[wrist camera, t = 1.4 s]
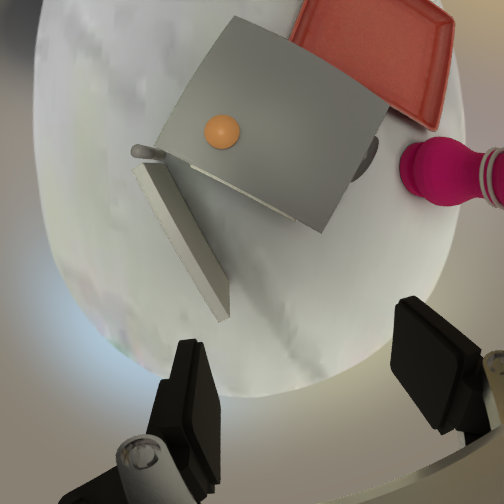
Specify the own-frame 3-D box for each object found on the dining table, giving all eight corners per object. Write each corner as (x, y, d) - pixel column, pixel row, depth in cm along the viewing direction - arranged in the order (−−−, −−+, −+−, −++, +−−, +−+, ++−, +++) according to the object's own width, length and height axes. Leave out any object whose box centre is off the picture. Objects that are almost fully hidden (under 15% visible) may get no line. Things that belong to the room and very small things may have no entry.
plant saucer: (443, 25, 25) (457, 18, 22) (421, 136, 29) (438, 135, 26) (319, -41, 23) (327, -55, 19) (276, 67, 27) (281, 56, 24)
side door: (162, 147, 27) (139, 141, 20) (233, 280, 32) (235, 314, 24) (149, 155, 28) (122, 152, 20) (220, 286, 32) (218, 322, 24)
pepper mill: (392, 197, 31) (540, 241, 11) (396, 133, 29) (547, 121, 10) (440, 203, 31) (576, 245, 12) (444, 144, 29) (583, 150, 10)
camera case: (232, 50, 26) (234, 10, 17) (362, 124, 28) (406, 112, 20) (172, 153, 28) (149, 148, 20) (307, 224, 31) (335, 246, 22)
